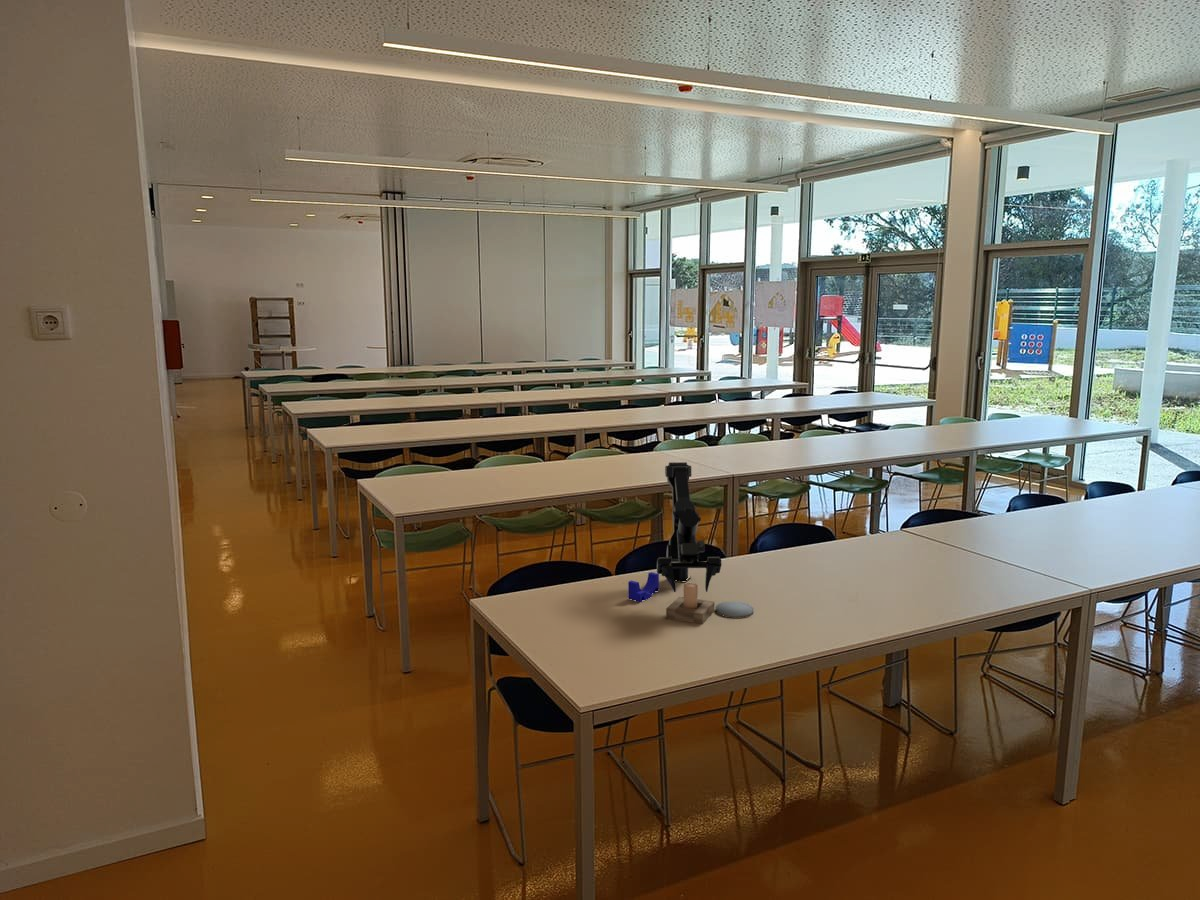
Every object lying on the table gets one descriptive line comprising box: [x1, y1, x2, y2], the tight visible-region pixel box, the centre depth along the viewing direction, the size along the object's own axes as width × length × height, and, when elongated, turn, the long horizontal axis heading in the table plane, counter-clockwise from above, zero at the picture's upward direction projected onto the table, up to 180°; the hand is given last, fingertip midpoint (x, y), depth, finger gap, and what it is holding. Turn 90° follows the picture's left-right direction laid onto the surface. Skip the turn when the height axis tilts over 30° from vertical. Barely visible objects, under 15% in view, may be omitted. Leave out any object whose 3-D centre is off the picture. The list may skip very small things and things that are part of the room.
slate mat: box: [715, 601, 754, 619], centre depth 240 cm, size 11×11×1 cm
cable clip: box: [627, 571, 660, 603], centre depth 254 cm, size 12×4×6 cm, turn 141°
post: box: [683, 582, 699, 609], centre depth 237 cm, size 4×4×9 cm
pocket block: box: [665, 596, 715, 625], centre depth 238 cm, size 11×11×3 cm
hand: (690, 591), depth 236 cm, fingers open, 9 cm apart
